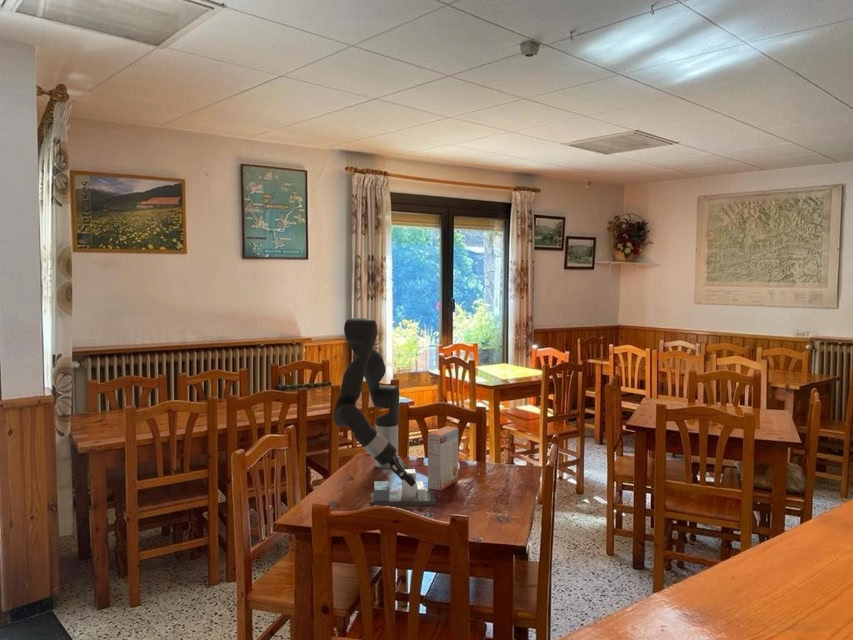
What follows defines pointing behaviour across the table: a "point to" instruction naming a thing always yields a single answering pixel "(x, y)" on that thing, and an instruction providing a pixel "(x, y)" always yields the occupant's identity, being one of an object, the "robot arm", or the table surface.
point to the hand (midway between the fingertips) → (412, 480)
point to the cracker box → (442, 458)
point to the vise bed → (397, 500)
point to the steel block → (408, 490)
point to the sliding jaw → (381, 491)
